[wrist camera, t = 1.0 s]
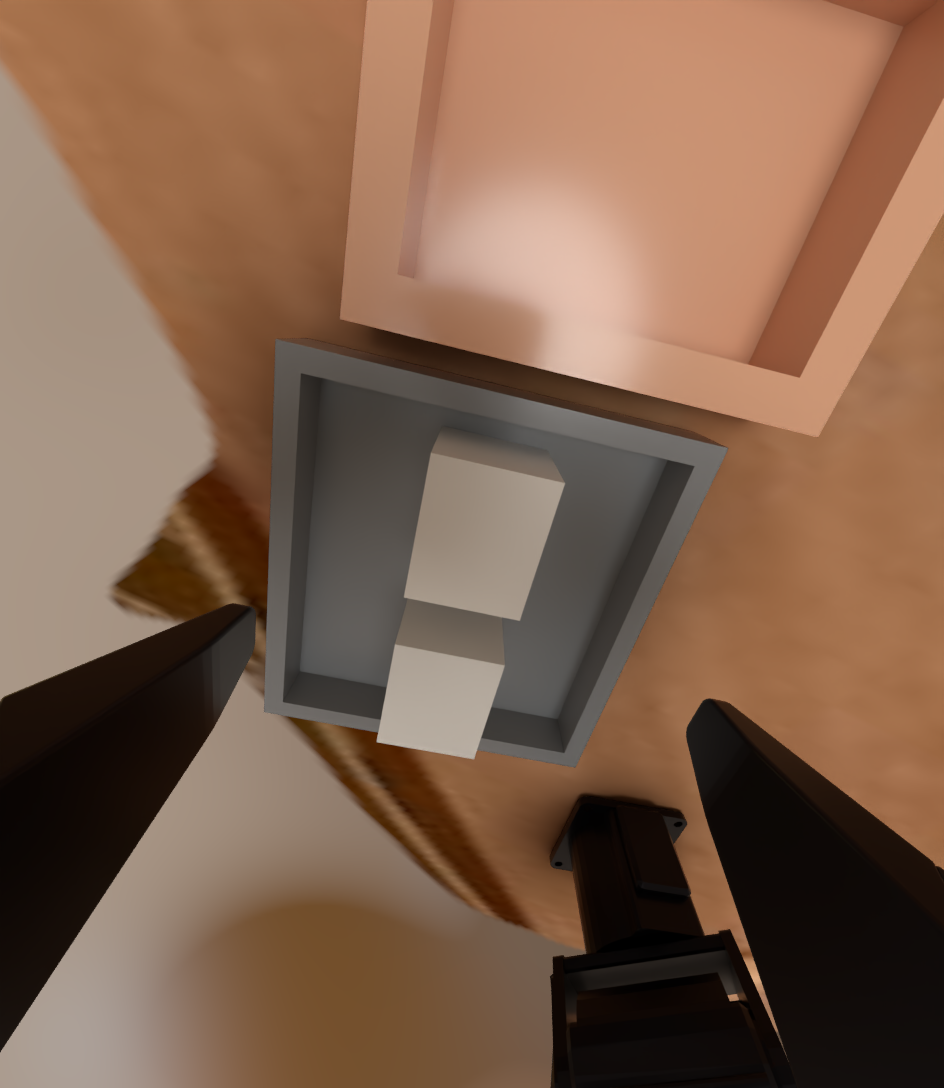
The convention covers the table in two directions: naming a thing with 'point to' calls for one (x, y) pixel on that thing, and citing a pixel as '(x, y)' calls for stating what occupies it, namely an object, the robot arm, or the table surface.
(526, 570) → the cream rectangular block
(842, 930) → the robot arm
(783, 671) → the table surface
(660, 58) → the terracotta dish
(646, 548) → the parts tray
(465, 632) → the off-white rectangular prism
